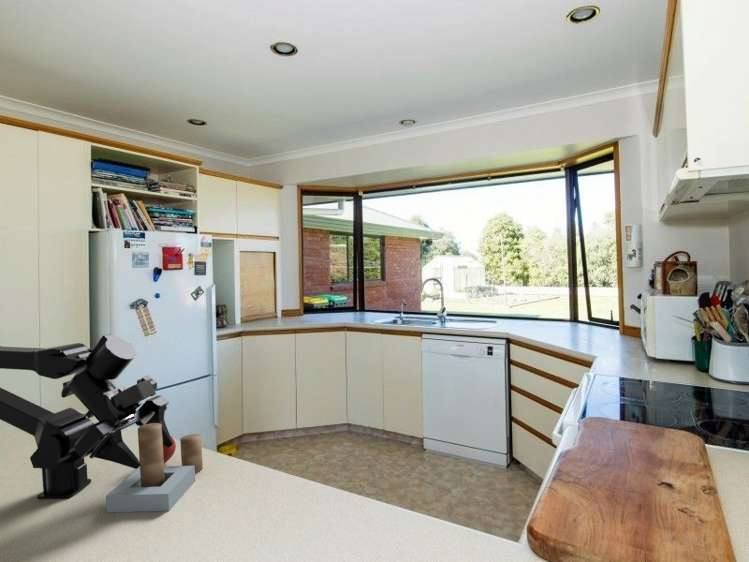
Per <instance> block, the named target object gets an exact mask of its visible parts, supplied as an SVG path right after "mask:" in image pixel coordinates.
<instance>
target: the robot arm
mask: <svg viewBox="0 0 749 562" xmlns="http://www.w3.org/2000/svg"><path fill="white" fill-rule="evenodd" d="M136 356H137V350H136V347H135V346H134V345H133V344H132V343H131V342H128V341H126V340H124V339H122V338H118V337H115V336H114V335H113V334H112V333H109V334H104V335H102V336H101V338H100V339H99V340H98V343H97V344H96V345H95V347H93V348H88V347H87V346H86V345H85V344H84V343H81V342H76V343H69V344H64V345H58V346H52V347H47V348H43V347H42V348H41V347H24V346H23V347H20V346H19V347H18V346H1V345H0V369H1V370H2V369H3V370H4V369H5V370H20V371H22V370H23V371H32V372H35V373H36V374H37V375H38V376H41V377H45V378H48V379H52V380H58V379H62V378H65V377H69V376H71V375H74V376H73V377H72V378H71V379H70V380H68V381H64V382H63V383H62V390H61V393H60V394H61V398H63V399H64V398H67V397H70V396H72V395H73V396H75V397H76V398H77V399H78V400H79V401H80V402H81V404H82V405H83V406H84V407H85V408H86V409H87V410H88V411H87V412H86V413H82V412H79V411H78V410H76V409H75V408H72V407H67V408H65V409H62V410H60V411H57V412H52V411H50V410H48V409H46V408H44V407H42V406H40V405H38V404H36V403H33V402H32V401H30V400H27V399H25V398H24V397H21V396H19V395H17V394H15V393H12V391H8V390H6V389H4V388H2V387H0V420H1V421H2V422H5V423H6V424H9V425H10V426H13V427H15V428H17V429H18V430H21V431H23V432H24V433H27V434H29V435H31V436H32V437H34V440H35V444H36V447H37V448H36V449H35V451H34V452H33V453H32V454H31V456H30V457H29V460H30V462H31V465H32V468H33V469H41V475H42V476H41V478H42V490H43V491H42V492H40V493H38V494H37V496H36V499H65V498H66V499H68V498H71V497H73V496H74V495H76V494H77V493H78V492H79V491H81V490H83V489H84V488H85V487H86V486H87V485H89V484H91V482H92V479H91V478H88V464H87V462H86V461H85V458H86V457H88V456H89V458H90V459H94V458H95V459H100V460H105V461H109V462H113V463H115V464H119V465H122V466H125V467H129V468H132V469H135V470H137V469H138V468H140V466H141V463H140V461H139V459H138V458H137V456H136V455H135V454H134V453H133V451H132V450H131V449H130V447H129V446H128V445H127V444H126V443H125V442H124V440H123V435H122V430H124V429H127V428H128V427H131V426H133V425H134V424H136V426H138V427H140V426H143V425H146V424H151V423H160V424H162V440H163V445H164V446H166V447H168V448H170V447H171V446H172V445H173V442H172V439H171V437H172V436H171V434H170V433H169V430H168V427H167V424H166V420H165V414H166V413H165V412H166V411H167V409H168V406H167V405H168V404H170V403H169V401H168V400H167V398H165V396H164V395H156V394H157V393H156V390H157V388H158V381H155V380H154V378H153V377H151V376H150V375H149V374H148V375H146V376H142V378H140V379H138V380H136V384H133V385H132V386H130V387H128V388H126V386H119V387H116V385H114V384H113V383H112V381H113V380H116V379H118V378H119V377H120V375H121V374H123V372H124V371H125V369H126V368H127V367H128V366H129V365H130V364H131V363H132V361H133V360H134V358H136ZM155 395H156V396H155ZM150 397H151V398H150ZM147 398H149V399H147ZM146 399H147V400H146ZM144 400H145V401H144ZM142 401H144V403H143V402H142ZM93 417H95V419H96V420H97V421H98V422H95V423H94V421H93V420H91V419H92V418H93ZM170 436H171V437H170Z"/></svg>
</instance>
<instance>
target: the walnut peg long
mask: <svg viewBox="0 0 749 562" xmlns="http://www.w3.org/2000/svg"><path fill="white" fill-rule="evenodd" d="M137 443H138V455H139V456H138V458H139V459H138V460H139V462H140V463H141V466H140V467H139V468H140V478H141V487H161V486H162V485H163V484H164V483H165V475H164V467H165V464H164V458H163V440H162V424H160V423H151V424H146V425H143V426H138V428H137Z"/></svg>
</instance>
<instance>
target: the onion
mask: <svg viewBox="0 0 749 562" xmlns="http://www.w3.org/2000/svg"><path fill="white" fill-rule="evenodd" d="M170 437H171V439H172V442H173V445H172V446H171V447H170V448H168V447H166V446H164V445H163V458H164V465H165V464H166V463H167V462H168V461H169V460H171V458H172V457H173V455H174V454H175V451H176V447H177V445H176V442H175V439H174V438H173V436H171V435H170Z"/></svg>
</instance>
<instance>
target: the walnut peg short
mask: <svg viewBox="0 0 749 562" xmlns="http://www.w3.org/2000/svg"><path fill="white" fill-rule="evenodd" d="M179 440H180V458H181V466H195V473H197V474H199V473H200V471H201V470H202V469H204V467H203V464H204V463H203V449H202V448H203V447H202V436H201V434H198V433H191V434H188V435H184V436H182V437H180V438H179ZM202 471H203V470H202ZM202 471H201V472H202ZM198 472H199V473H198Z"/></svg>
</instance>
